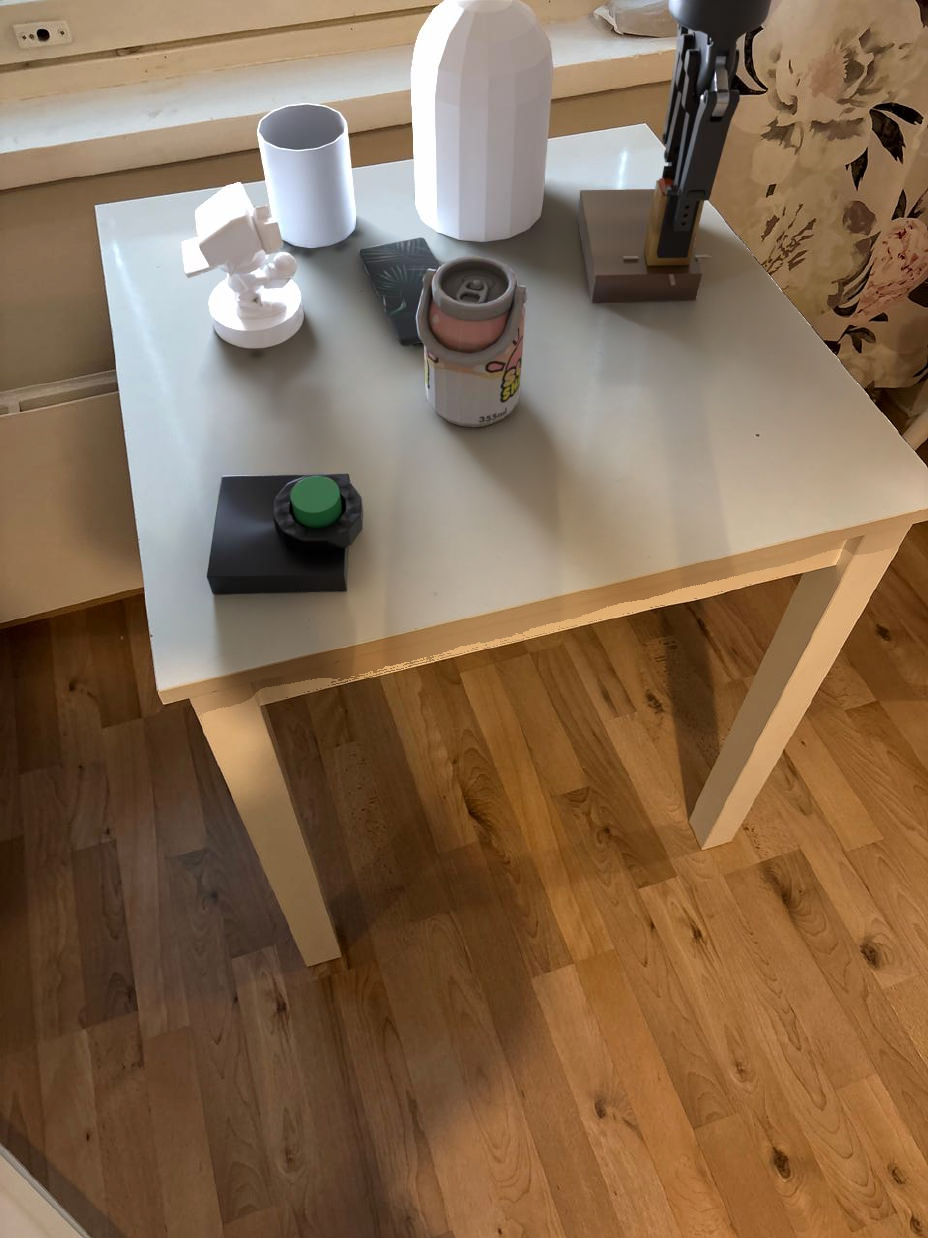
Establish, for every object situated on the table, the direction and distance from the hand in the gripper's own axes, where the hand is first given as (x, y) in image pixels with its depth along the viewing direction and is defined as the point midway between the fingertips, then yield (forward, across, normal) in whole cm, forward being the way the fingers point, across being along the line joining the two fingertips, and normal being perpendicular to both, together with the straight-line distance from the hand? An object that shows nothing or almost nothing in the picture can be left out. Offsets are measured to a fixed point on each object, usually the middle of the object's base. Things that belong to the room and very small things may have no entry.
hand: (669, 244), depth 88 cm
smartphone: (+5, +1, -24) cm, 24 cm away
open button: (+1, +31, -31) cm, 44 cm away
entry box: (+4, +31, -34) cm, 46 cm away
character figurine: (+5, +4, -39) cm, 39 cm away
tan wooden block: (+1, 0, 0) cm, 1 cm away
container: (+5, -14, -17) cm, 22 cm away
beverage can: (+5, +16, -19) cm, 25 cm away
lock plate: (+4, -4, -2) cm, 7 cm away
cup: (+5, -11, -34) cm, 36 cm away
